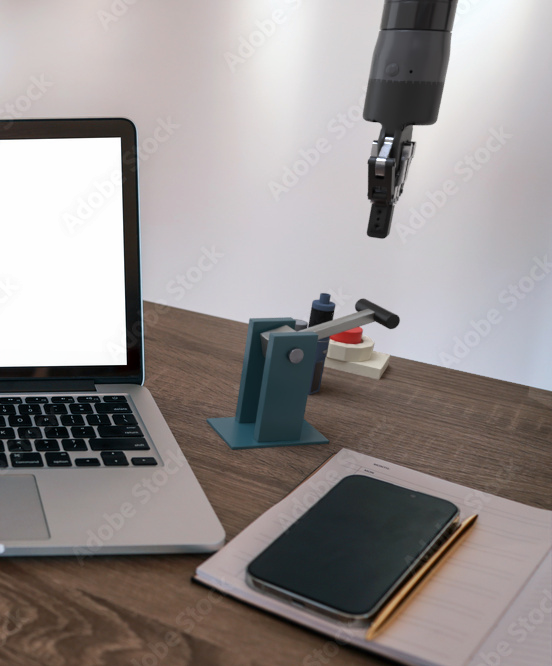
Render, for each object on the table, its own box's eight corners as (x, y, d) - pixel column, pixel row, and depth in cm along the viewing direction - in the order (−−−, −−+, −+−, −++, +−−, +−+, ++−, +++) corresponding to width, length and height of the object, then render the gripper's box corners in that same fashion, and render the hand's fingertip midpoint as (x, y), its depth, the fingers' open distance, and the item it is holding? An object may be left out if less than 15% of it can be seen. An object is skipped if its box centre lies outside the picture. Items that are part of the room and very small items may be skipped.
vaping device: (310, 404, 84) (329, 299, 80) (269, 388, 88) (286, 286, 84) (323, 399, 86) (342, 295, 82) (283, 383, 89) (299, 283, 85)
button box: (387, 370, 95) (393, 340, 94) (377, 387, 90) (383, 355, 88) (305, 351, 100) (310, 322, 98) (291, 366, 95) (296, 335, 93)
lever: (368, 314, 76) (367, 291, 75) (400, 331, 72) (399, 307, 71) (255, 350, 75) (252, 328, 74) (281, 370, 70) (278, 347, 69)
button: (363, 340, 94) (366, 326, 93) (356, 348, 91) (359, 334, 91) (333, 333, 96) (335, 320, 95) (325, 341, 93) (328, 327, 92)
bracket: (295, 423, 79) (314, 314, 75) (327, 451, 74) (349, 335, 70) (204, 429, 77) (219, 317, 73) (230, 458, 72) (248, 339, 68)
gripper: (435, 79, 75) (401, 252, 81) (453, 78, 86) (422, 232, 92) (356, 75, 79) (329, 241, 85) (382, 75, 90) (356, 223, 95)
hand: (377, 236), depth 88 cm, fingers closed
